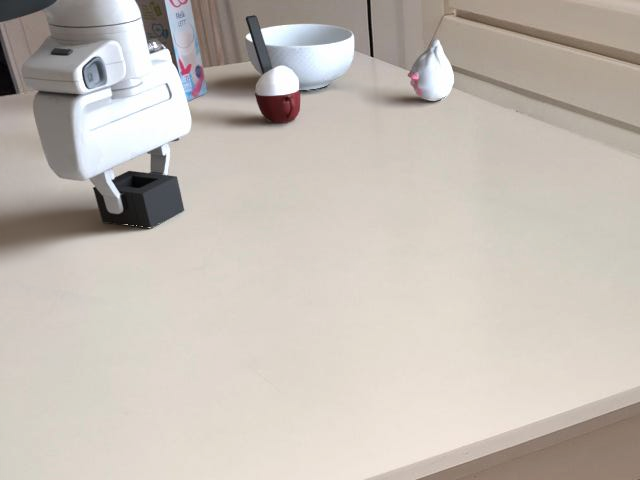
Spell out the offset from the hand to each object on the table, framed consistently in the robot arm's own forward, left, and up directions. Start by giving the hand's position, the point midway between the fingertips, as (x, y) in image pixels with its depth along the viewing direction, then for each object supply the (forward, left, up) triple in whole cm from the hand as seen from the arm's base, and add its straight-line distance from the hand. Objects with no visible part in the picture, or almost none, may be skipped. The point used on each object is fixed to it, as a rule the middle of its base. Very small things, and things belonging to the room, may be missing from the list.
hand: (140, 200), depth 100 cm
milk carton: (+28, +49, -2) cm, 57 cm away
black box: (0, 0, -2) cm, 2 cm away
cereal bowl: (+47, +42, -2) cm, 63 cm away
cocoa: (+33, +26, -2) cm, 42 cm away
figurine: (+56, +20, -2) cm, 59 cm away
